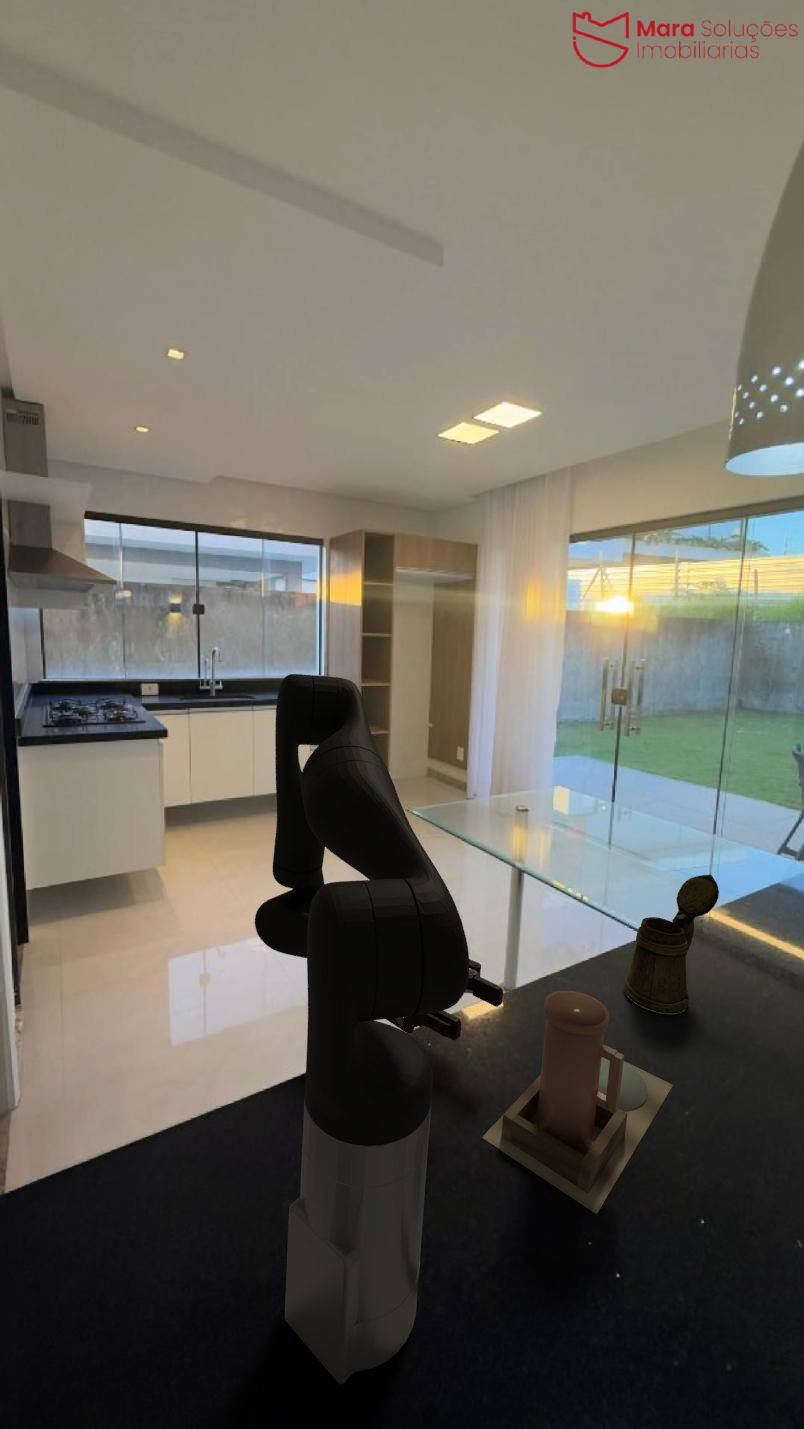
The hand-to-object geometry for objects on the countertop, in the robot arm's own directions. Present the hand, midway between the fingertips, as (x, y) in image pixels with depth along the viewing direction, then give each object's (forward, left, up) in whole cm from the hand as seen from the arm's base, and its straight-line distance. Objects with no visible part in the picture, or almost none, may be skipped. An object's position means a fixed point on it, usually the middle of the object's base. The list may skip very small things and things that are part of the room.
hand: (481, 1013), depth 68 cm
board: (+5, -11, -9) cm, 15 cm away
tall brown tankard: (0, -11, -8) cm, 14 cm away
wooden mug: (+37, -10, -10) cm, 39 cm away
